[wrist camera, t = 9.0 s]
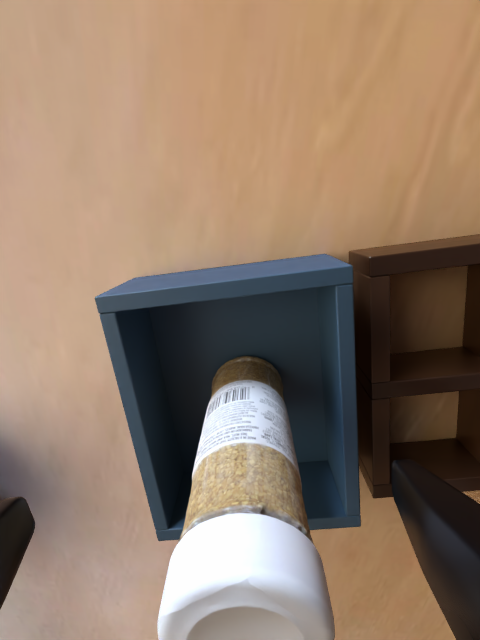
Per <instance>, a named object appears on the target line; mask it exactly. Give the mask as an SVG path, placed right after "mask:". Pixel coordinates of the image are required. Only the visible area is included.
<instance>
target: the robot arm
mask: <svg viewBox="0 0 480 640" xmlns="http://www.w3.org/2000/svg"><path fill="white" fill-rule="evenodd" d="M392 493H393V497H394V500H395V503H396V505H397V508H398V510H399V513H400V516H401V518H402V521H403V523H404V526H405V528H406V531H407V534H408V536H409V539H410V541H411V544H412V546H413V549H414V551H415V554H416V557H417V559H418V562H419V564H420V566H421V569H422V571H423V574H424V576H425V578H426V580H427V582H428V584H429V586H430V588H431V590H432V592H433V594H434V596H435V598H436V600H437V602H438V604H439V606H440V608H441V610H442V612H443V614H444V616H445V618H446V620H447V622H448V624H449V626H450V628H451V630H452V632H453V634H454V636H455V638H456V640H480V504H479V503H477V502H476V501H474V500H473V499H471V498H470V497H468V496H467V495H465V494H464V493H462V492H461V491H459V490H458V489H456V488H455V487H453V486H452V485H450V484H449V483H447V482H446V481H444V480H443V479H441V478H440V477H438V476H437V475H435V474H433V473H432V472H430V471H429V470H427V469H426V468H424V467H423V466H421V465H420V464H418V463H417V462H415V461H414V460H411V459H401V460H395V461H393V463H392ZM34 529H35V521H34V518H33V516H32V513H31V511H30V508H29V506H28V504H27V501H26V499H24V498H23V497H12V498H6V499H4V500H2V501H0V609H1V607H2V605H3V603H4V601H5V598H6V596H7V594H8V592H9V589H10V587H11V585H12V582H13V580H14V578H15V575H16V573H17V571H18V568H19V566H20V564H21V561H22V559H23V556H24V554H25V552H26V549H27V547H28V545H29V542H30V540H31V538H32V535H33V533H34Z"/></svg>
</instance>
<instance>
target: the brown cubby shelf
mask: <svg viewBox="0 0 480 640" xmlns="http://www.w3.org/2000/svg"><path fill="white" fill-rule="evenodd" d="M349 264H350V265H352V266H353V283H352V284H353V293H354V326H355V358H356V391H357V424H358V456H359V467H360V469H361V472H362V474H363V476H364V478H365V481H366V483H367V485H368V487H369V490H370V492H371V494H372V496H373V498H385V497H393V493H392V463H393V461H395V460H401V459H411V460H414V461H415V462H417V463H418V464H420V465H421V466H423V467H424V468H426V469H427V470H429V471H430V472H432V473H433V474H435V475H437V476H438V477H440V478H441V479H443V480H444V481H446V482H447V483H449V484H450V485H452V486H453V487H455V488H456V489H458V490H459V491H461V492H463V491H476V490H480V234H478V235H471V236H463V237H455V238H447V239H439V240H431V241H423V242H415V243H407V244H399V245H391V246H383V247H375V248H368V249H360V250H352V251H349ZM467 265H468V273H467V287H466V302H465V316H464V331H463V347H456V348H447V349H437V350H428V351H418V352H409V353H399V354H390V275H393V274H401V273H409V272H417V271H426V270H434V269H442V268H451V267H459V266H467ZM453 391H459V405H458V420H457V434H456V439H445V440H433V441H422V442H410V443H399V444H390V398H391V397H401V396H412V395H422V394H432V393H443V392H453Z"/></svg>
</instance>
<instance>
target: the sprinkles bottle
mask: <svg viewBox="0 0 480 640" xmlns="http://www.w3.org/2000/svg"><path fill="white" fill-rule="evenodd" d="M158 638H159V640H334V638H335V628H334V618H333V612H332V607H331V602H330V597H329V592H328V587H327V582H326V577H325V573H324V568H323V564H322V560H321V557H320V555H319V553H318V551H317V549H316V547H315V546H314V545H313V541H312V538H311V535H310V530H309V525H308V521H307V514H306V511H305V505H304V501H303V496H302V483H301V478H300V473H299V468H298V463H297V458H296V453H295V448H294V443H293V438H292V433H291V428H290V422H289V417H288V412H287V408H286V405H285V403H284V397H283V384H282V380H281V377H280V375H279V373H278V371H277V370H276V369H275V368H274V367H273V365H272V364H271V363H269V362H267V361H265V360H263V359H260V358H258V357H252V356H242V357H237V358H234V359H232V360H229V361H228V362H226V363H225V364H224V365H222V366H221V367H220V368H219V369H218V371H217V373H216V375H215V377H214V378H213V381H212V396H211V400H210V402H209V404H208V407H207V411H206V415H205V420H204V424H203V428H202V433H201V437H200V441H199V446H198V451H197V455H196V459H195V464H194V469H193V473H192V487H191V494H190V498H189V503H188V508H187V512H186V518H185V523H184V527H183V532H182V534H181V536H180V539H179V542H178V544H177V546H176V547H175V549H174V551H173V554H172V556H171V559H170V563H169V568H168V572H167V577H166V582H165V587H164V592H163V597H162V601H161V606H160V612H159V618H158Z"/></svg>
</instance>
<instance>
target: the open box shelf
mask: <svg viewBox="0 0 480 640" xmlns="http://www.w3.org/2000/svg"><path fill="white" fill-rule="evenodd" d="M352 283H353V266H352V265H350V264H348V263H346V262H343V261H341V260H339V259H336V258H334V257H332V256H329V255H327V254H320V255H312V256H304V257H296V258H288V259H281V260H273V261H265V262H257V263H249V264H241V265H233V266H225V267H217V268H209V269H201V270H193V271H185V272H178V273H170V274H162V275H154V276H146V277H138V278H133V279H131V280H129V281H127V282H125V283H123V284H121V285H119V286H117V287H115V288H113V289H111V290H109V291H107V292H104V293H102V294H100V295H98V296H96V297H95V301H96V305H97V309H98V312H99V313H100V319H101V323H102V326H103V330H104V334H105V338H106V342H107V346H108V349H109V353H110V357H111V361H112V365H113V369H114V372H115V376H116V380H117V384H118V388H119V392H120V395H121V399H122V403H123V407H124V411H125V415H126V418H127V422H128V426H129V430H130V434H131V437H132V441H133V445H134V449H135V453H136V457H137V460H138V464H139V468H140V472H141V476H142V480H143V483H144V487H145V491H146V495H147V499H148V503H149V506H150V510H151V514H152V518H153V522H154V526H155V529H156V534H157V538H158V541H165V540H179V539H180V536H181V534H182V532H183V527H184V523H185V518H186V512H187V508H188V503H189V498H190V494H191V487H192V473H193V469H194V464H195V459H196V455H197V451H198V446H199V441H200V437H201V433H202V428H203V424H204V420H205V415H206V411H207V407H208V404H209V402H210V400H211V396H212V381H213V378H214V377H215V375H216V373H217V371H218V369H219V368H220V367H221V366H222V365H224V364H225V363H226V362H228V361H229V360H232V359H234V358H237V357H242V356H252V357H258V358H260V359H263V360H265V361H267V362H269V363H271V364H272V365H273V367H274V368H275V369H276V370H277V371H278V373H279V375H280V377H281V380H282V384H283V397H284V403H285V405H286V408H287V412H288V417H289V422H290V428H291V433H292V438H293V443H294V448H295V453H296V458H297V463H298V468H299V473H300V478H301V483H302V496H303V501H304V505H305V511H306V514H307V521H308V525H309V530H318V529H332V528H346V527H360V526H361V516H360V489H359V456H358V424H357V391H356V358H355V326H354V293H353V284H352Z"/></svg>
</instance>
